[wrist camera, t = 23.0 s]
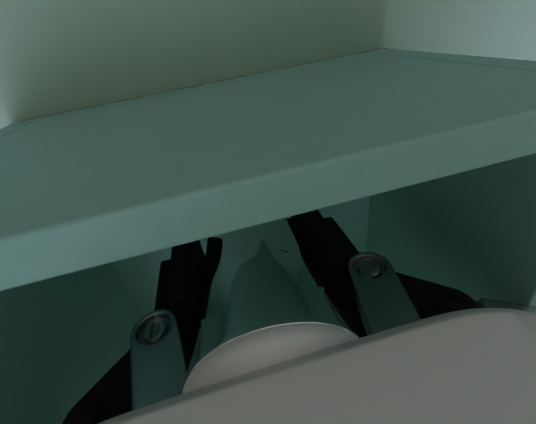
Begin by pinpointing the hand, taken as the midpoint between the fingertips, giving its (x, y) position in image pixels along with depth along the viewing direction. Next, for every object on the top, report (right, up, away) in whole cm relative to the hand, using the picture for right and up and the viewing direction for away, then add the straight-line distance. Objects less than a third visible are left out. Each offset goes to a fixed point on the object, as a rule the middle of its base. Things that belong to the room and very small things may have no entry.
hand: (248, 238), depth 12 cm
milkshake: (0, +1, +1) cm, 2 cm away
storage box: (0, 0, +3) cm, 3 cm away
